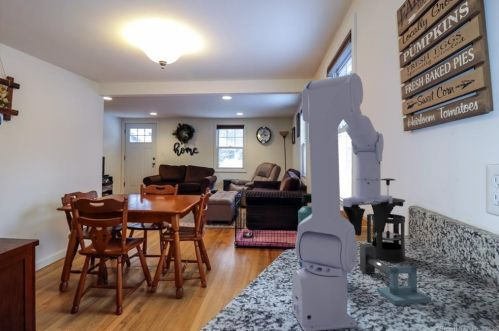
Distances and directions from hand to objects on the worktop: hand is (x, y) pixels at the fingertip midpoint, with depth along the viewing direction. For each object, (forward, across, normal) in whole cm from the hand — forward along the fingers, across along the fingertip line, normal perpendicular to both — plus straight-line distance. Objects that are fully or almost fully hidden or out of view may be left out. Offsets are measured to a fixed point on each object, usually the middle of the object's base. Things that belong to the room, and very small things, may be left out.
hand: (368, 233), depth 76 cm
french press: (+10, +14, +7) cm, 19 cm away
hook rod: (+10, -2, -5) cm, 11 cm away
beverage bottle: (+10, -13, +6) cm, 18 cm away
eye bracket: (+10, -4, -13) cm, 17 cm away
